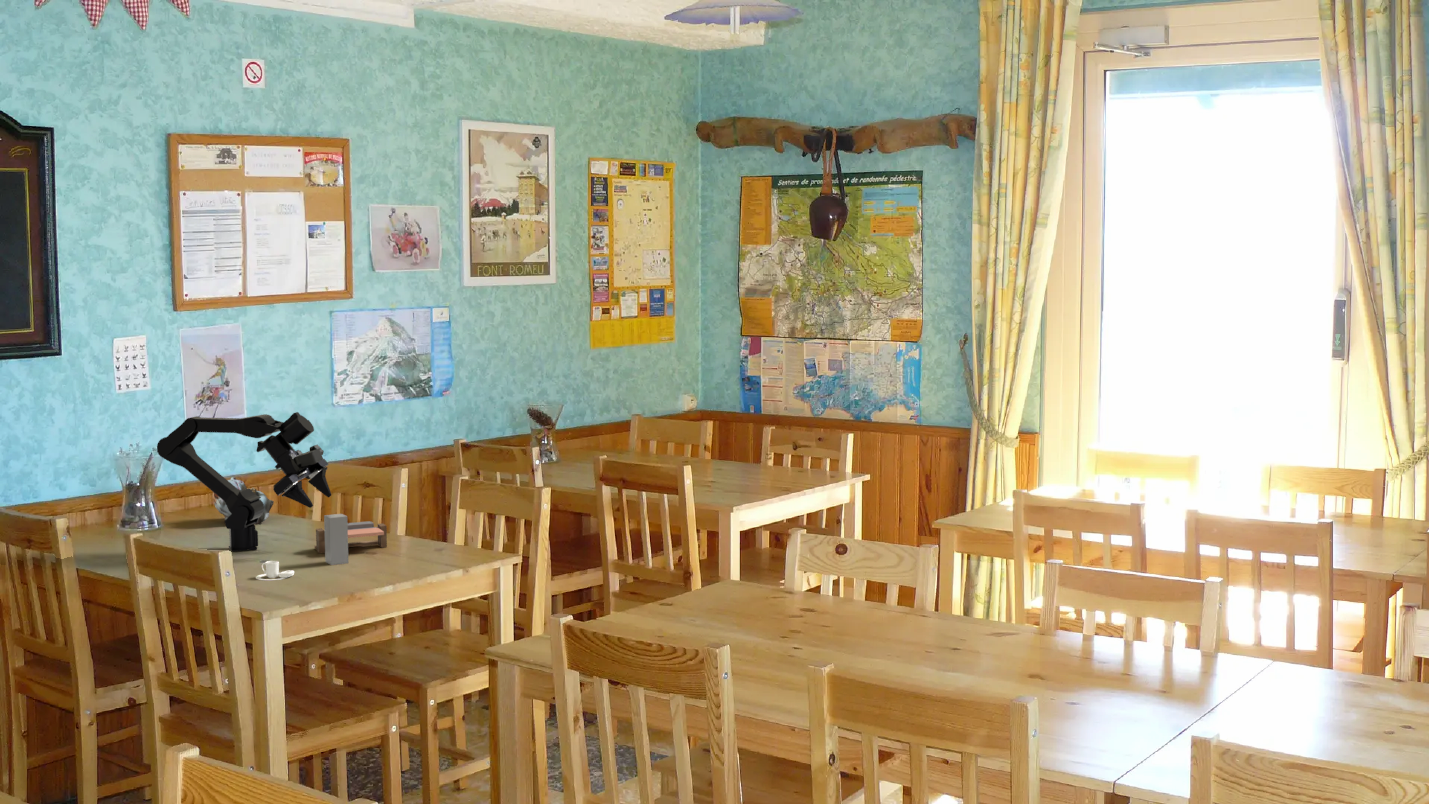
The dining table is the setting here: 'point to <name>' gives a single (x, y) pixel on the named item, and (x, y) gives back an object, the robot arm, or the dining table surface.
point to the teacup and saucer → (274, 571)
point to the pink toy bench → (381, 542)
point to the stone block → (336, 539)
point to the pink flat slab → (363, 529)
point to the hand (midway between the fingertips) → (321, 501)
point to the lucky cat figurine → (240, 485)
